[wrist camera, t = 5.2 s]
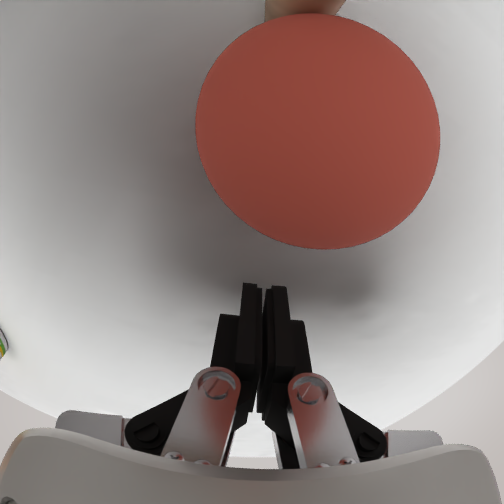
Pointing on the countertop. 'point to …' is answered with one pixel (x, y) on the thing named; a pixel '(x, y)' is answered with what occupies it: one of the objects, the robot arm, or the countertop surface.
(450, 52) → the countertop surface
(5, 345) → the supplement bottle
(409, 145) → the ball
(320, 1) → the pin
